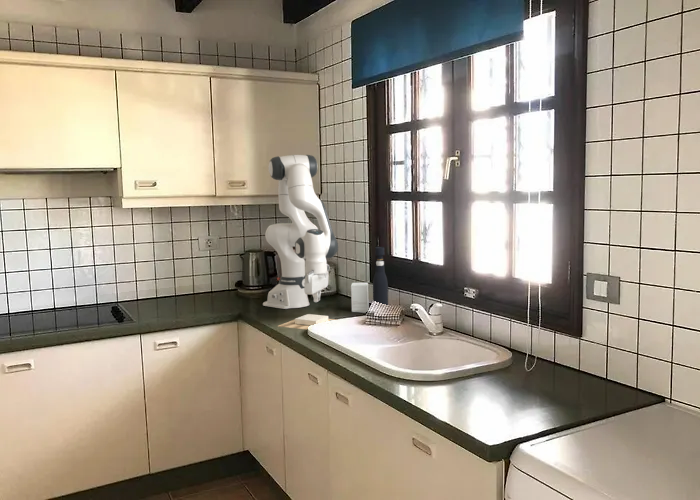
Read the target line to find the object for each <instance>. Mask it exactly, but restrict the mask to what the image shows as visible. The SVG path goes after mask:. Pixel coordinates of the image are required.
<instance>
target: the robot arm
mask: <svg viewBox="0 0 700 500" xmlns="http://www.w3.org/2000/svg"><path fill="white" fill-rule="evenodd" d="M318 165H319V164H318V162H317V159H316V157H315V156H314V155H312V154H291V155H290V154H289V155H282V156H281V155H280V156H278V155H277V156H274V157H272V158H271V159H270V160H269V163H268V173H269V175H270V177H271V179H273V180H276V181H278V191H277V192H278V193H277V194H278V209H279V212H280V213H281V214H282V215H284V216H286V217H288V218H289V219H290V220H291V221H290V222H287V223H286V222H285V223H284V222H283V223H282V222H279V223H274V224H270V225H269V226H268V227H267V228H266V230H265V234H264V235H265V236H264V237H265V240H266V242H267V243H268V244H269V245H270V246H271V247H272V248H273V249H274V250H275V251H276V253H277V254H278V257H279V260H280V267H281V268H280V269H281V275H280V276H279V277H276V279H277V281H278V284H276V285H275V286H274V287H273V288H272V289H270V291H268V294H267V300H266V301H264V302H263V303H262V306H265V307H270V308H276V309H283V310H284V309H285V310H287V309H298V308H304V307H308V306H310V302H309V301H310V300H309V297H308V295H312V297H313V302H314V303H318V302H319V301H321V294H322V290H324V289H326V288H327V287H328V286H329V278H330V277H329V275H330V273H329V271H330V265H329V264H328V262H327V261H328V260H327V259H332V258H333V257H334V256H336V254H337V253H338V251H339V243H338V240H337V237H336V235H335V233H334V231H333V227H332V225H331V221H330V219H329V216H328V215H329V214H328V212H327V209H326V206H325V204H324V201H323V200H322V199H321V198H319V197H318V196H317V194H316V192H315V189H314V183H313V179H312V178H314V177H316V175H317V174H318V173H317V172H318ZM306 212H307V213H309V214H312V215H313V216H314V217H315V218H316V220H317V223H318V225H319V228H318V226H316V225H315V224H314V223H313V222H312V221H311V220H310V219H309V217H308V216H307V214H306ZM293 247H294V248H293ZM306 274H307V275H306Z"/></svg>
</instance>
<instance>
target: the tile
mask: <svg viewBox="0 0 700 500" xmlns="http://www.w3.org/2000/svg"><path fill="white" fill-rule="evenodd" d="M328 319H329V315H322V314H321V315H320V314H311V313H307V314H304V315H302V316H298V317H296V318H294V320H295V324H300V325H309V326H310V325H314V324H318V323H322V322H326V321H328Z"/></svg>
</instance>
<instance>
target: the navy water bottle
mask: <svg viewBox="0 0 700 500" xmlns="http://www.w3.org/2000/svg"><path fill="white" fill-rule="evenodd" d="M374 249H375V252H374V253H375V255H374V256H376V262H375V264H376V265H375V274H374V276H373V281H372V303H373V302H374V301H376V302H379V303H382V304H386V305H388V306H389V285H388V278H387V275H386V272H385V261H384V256H385V247H384V246H376V247H374Z"/></svg>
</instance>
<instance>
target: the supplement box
mask: <svg viewBox="0 0 700 500" xmlns="http://www.w3.org/2000/svg"><path fill="white" fill-rule="evenodd" d="M350 292H351V293H350V295H351V297H350V298H351V303H350V304H351V312H352V313H364V314H367V313H366V312H367V311H368V312H369V310H368V309H369V308H370V307H369V305H370V304H369V283H368V282H352V283H351V285H350Z"/></svg>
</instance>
